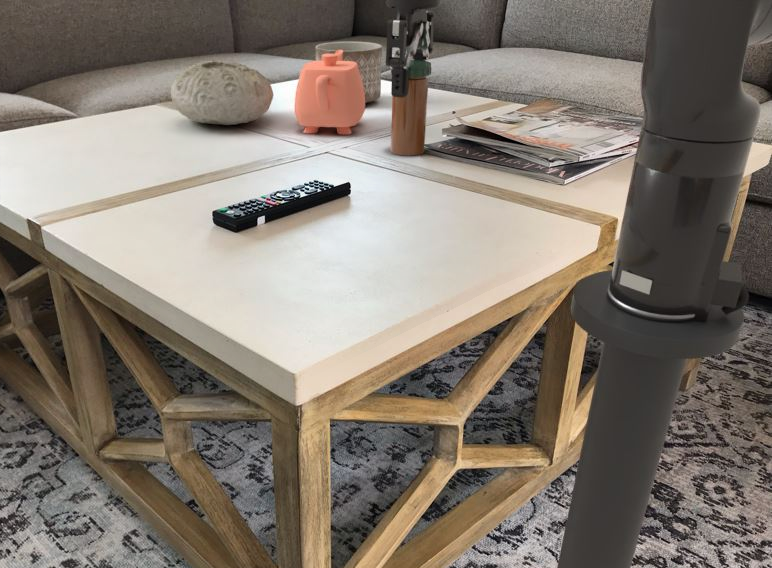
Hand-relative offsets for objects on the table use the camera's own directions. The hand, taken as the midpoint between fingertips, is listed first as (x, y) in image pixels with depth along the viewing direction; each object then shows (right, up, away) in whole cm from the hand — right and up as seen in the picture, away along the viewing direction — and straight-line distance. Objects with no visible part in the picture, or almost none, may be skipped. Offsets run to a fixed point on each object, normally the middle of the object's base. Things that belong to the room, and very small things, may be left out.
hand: (408, 91), depth 109 cm
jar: (0, -8, +4) cm, 9 cm away
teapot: (-11, 0, +19) cm, 22 cm away
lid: (0, +3, -2) cm, 4 cm away
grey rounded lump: (-30, +2, +22) cm, 38 cm away
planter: (-8, +10, +36) cm, 38 cm away
